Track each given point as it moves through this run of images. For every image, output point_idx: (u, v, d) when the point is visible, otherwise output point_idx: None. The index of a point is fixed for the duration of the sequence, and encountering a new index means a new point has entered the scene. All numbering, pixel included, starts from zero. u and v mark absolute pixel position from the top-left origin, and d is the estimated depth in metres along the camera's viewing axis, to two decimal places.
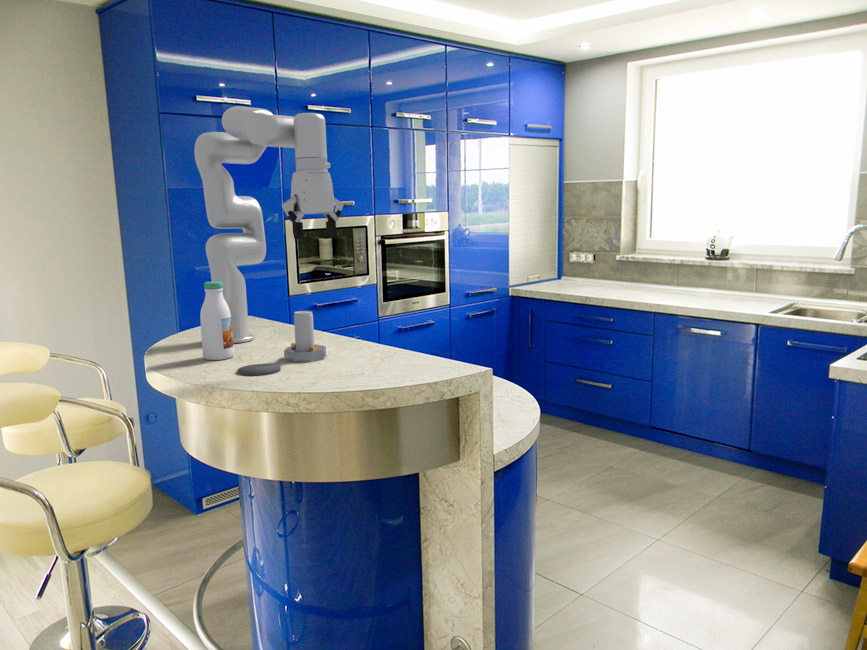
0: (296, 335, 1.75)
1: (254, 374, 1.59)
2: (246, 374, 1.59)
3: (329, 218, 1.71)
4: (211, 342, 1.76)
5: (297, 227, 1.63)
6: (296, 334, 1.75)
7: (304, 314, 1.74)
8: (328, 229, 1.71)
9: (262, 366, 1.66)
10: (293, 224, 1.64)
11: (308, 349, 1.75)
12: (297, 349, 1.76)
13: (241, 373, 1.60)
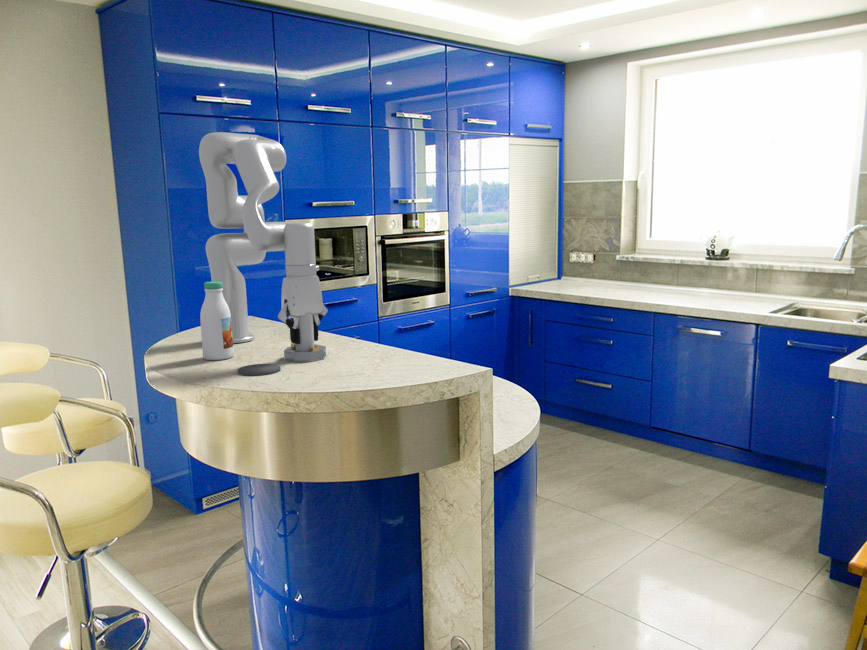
0: None
1: (254, 374, 1.59)
2: (246, 374, 1.59)
3: None
4: (211, 342, 1.76)
5: (294, 333, 1.74)
6: None
7: None
8: None
9: (262, 366, 1.66)
10: (290, 330, 1.74)
11: (308, 349, 1.75)
12: (297, 349, 1.76)
13: (241, 373, 1.60)
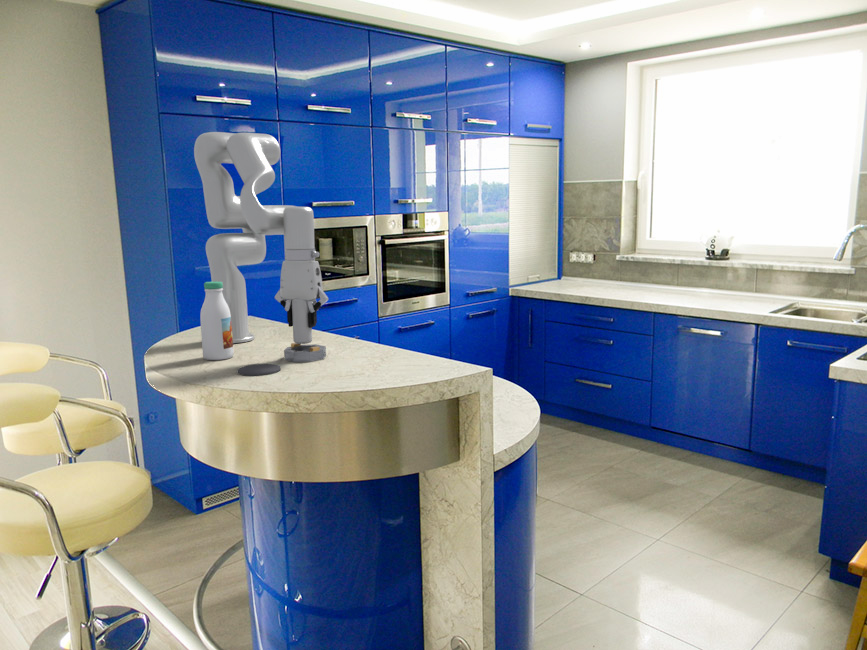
0: None
1: (254, 374, 1.59)
2: (246, 374, 1.59)
3: None
4: (211, 342, 1.76)
5: None
6: None
7: None
8: None
9: (262, 366, 1.66)
10: None
11: (296, 334, 1.75)
12: None
13: (241, 373, 1.60)
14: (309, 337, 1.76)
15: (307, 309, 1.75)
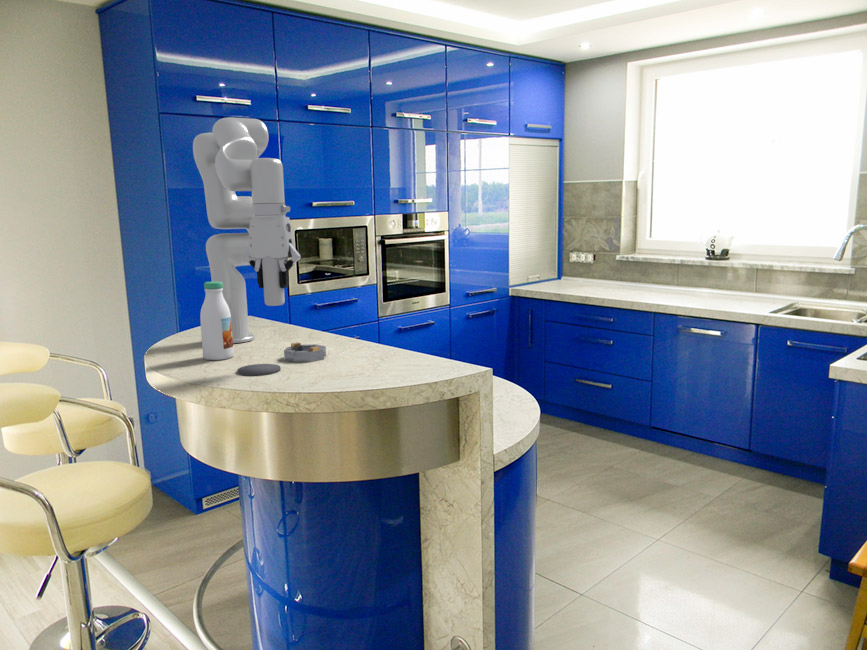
0: None
1: (254, 374, 1.59)
2: (246, 374, 1.59)
3: None
4: (211, 342, 1.76)
5: None
6: None
7: None
8: None
9: (262, 366, 1.66)
10: None
11: (267, 295, 1.64)
12: None
13: (241, 373, 1.60)
14: (282, 298, 1.65)
15: (278, 268, 1.64)
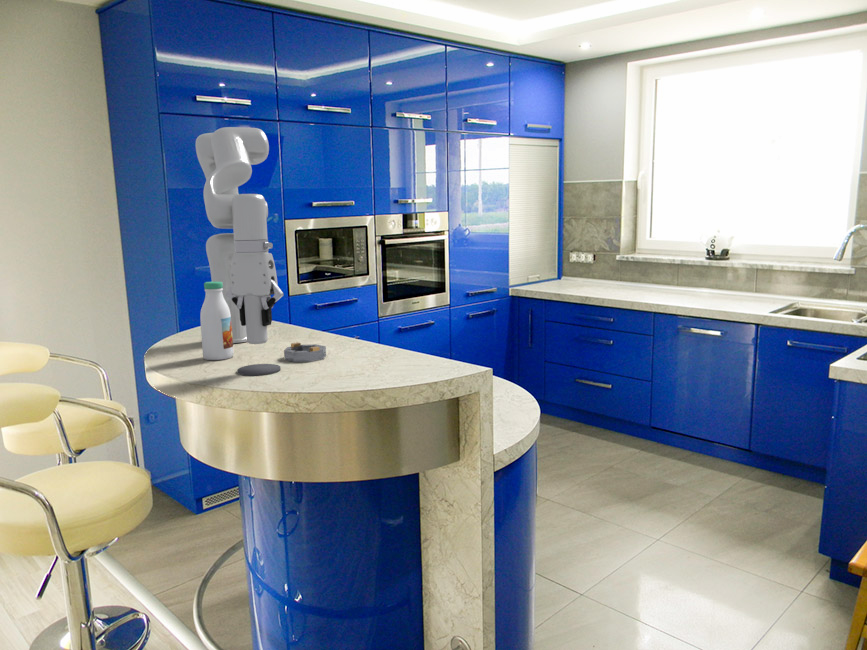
0: None
1: (254, 374, 1.59)
2: (246, 374, 1.59)
3: None
4: (211, 342, 1.76)
5: None
6: None
7: None
8: None
9: (262, 366, 1.66)
10: None
11: (249, 333, 1.60)
12: None
13: (241, 373, 1.60)
14: (264, 336, 1.61)
15: (261, 306, 1.60)
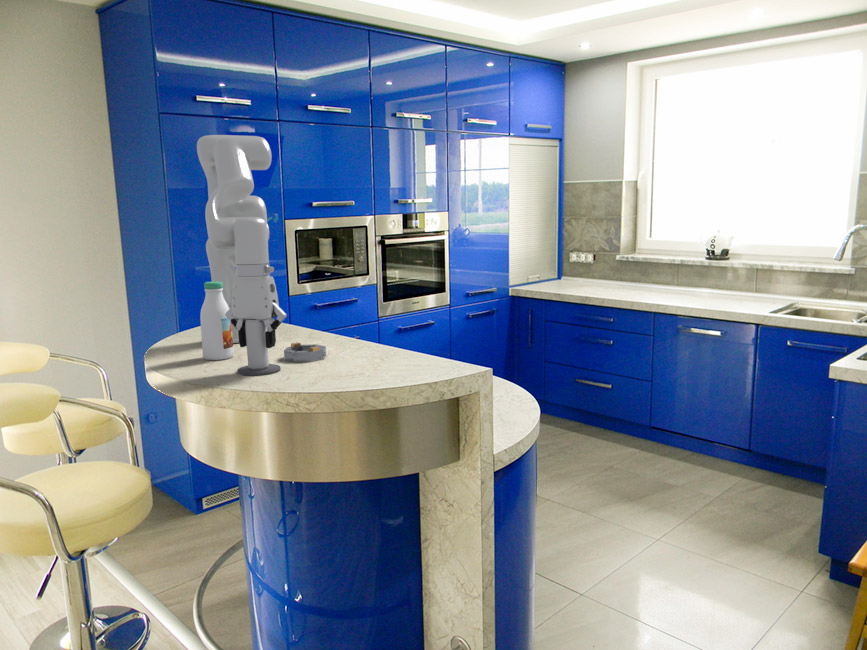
0: None
1: (254, 374, 1.59)
2: (246, 374, 1.59)
3: None
4: (211, 342, 1.76)
5: None
6: None
7: (247, 321, 1.61)
8: None
9: None
10: None
11: (251, 359, 1.62)
12: None
13: (241, 373, 1.60)
14: (265, 362, 1.63)
15: (262, 332, 1.61)
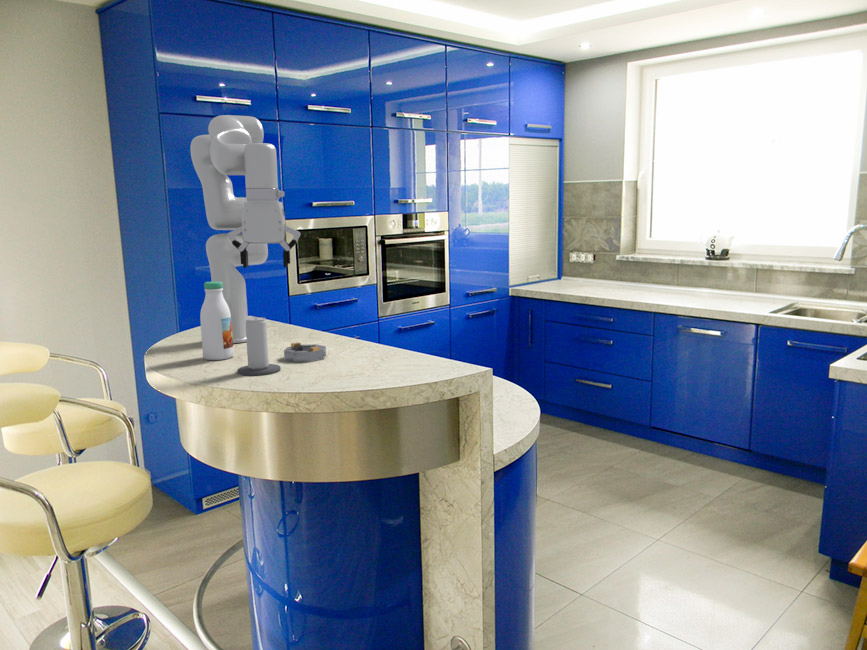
0: None
1: (254, 374, 1.59)
2: (246, 374, 1.59)
3: None
4: (211, 342, 1.76)
5: (241, 256, 1.66)
6: None
7: (247, 321, 1.60)
8: None
9: None
10: None
11: (251, 359, 1.62)
12: None
13: (241, 373, 1.60)
14: (265, 362, 1.63)
15: (262, 332, 1.61)
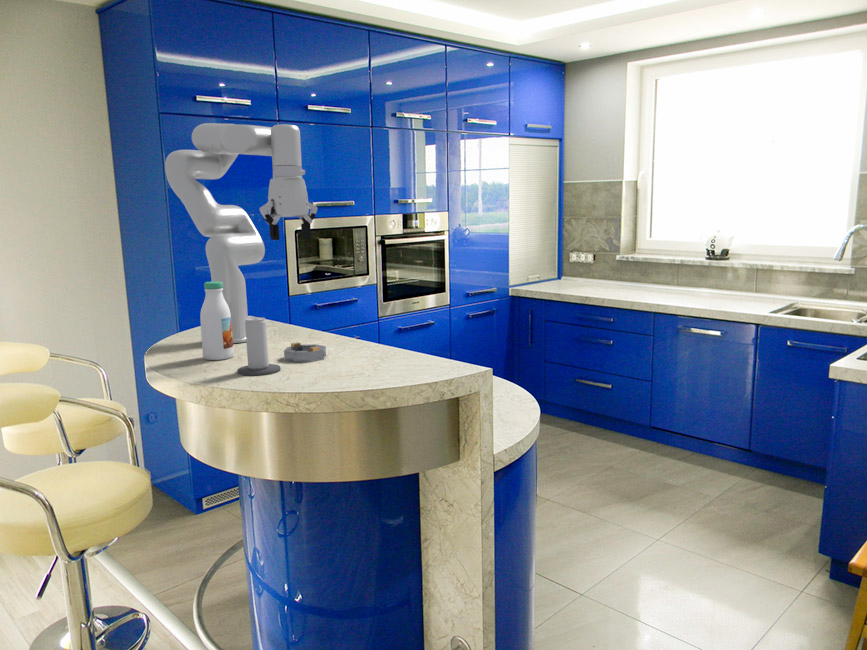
0: None
1: (254, 374, 1.59)
2: (246, 374, 1.59)
3: (304, 221, 1.85)
4: (211, 342, 1.76)
5: (274, 229, 1.78)
6: None
7: (247, 321, 1.60)
8: (303, 231, 1.86)
9: None
10: (270, 226, 1.78)
11: (251, 359, 1.61)
12: None
13: (241, 373, 1.60)
14: (265, 362, 1.63)
15: (262, 332, 1.61)
